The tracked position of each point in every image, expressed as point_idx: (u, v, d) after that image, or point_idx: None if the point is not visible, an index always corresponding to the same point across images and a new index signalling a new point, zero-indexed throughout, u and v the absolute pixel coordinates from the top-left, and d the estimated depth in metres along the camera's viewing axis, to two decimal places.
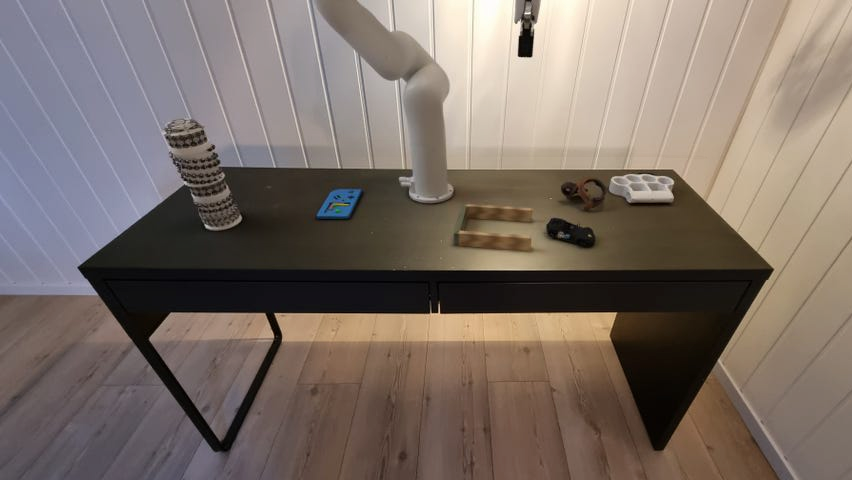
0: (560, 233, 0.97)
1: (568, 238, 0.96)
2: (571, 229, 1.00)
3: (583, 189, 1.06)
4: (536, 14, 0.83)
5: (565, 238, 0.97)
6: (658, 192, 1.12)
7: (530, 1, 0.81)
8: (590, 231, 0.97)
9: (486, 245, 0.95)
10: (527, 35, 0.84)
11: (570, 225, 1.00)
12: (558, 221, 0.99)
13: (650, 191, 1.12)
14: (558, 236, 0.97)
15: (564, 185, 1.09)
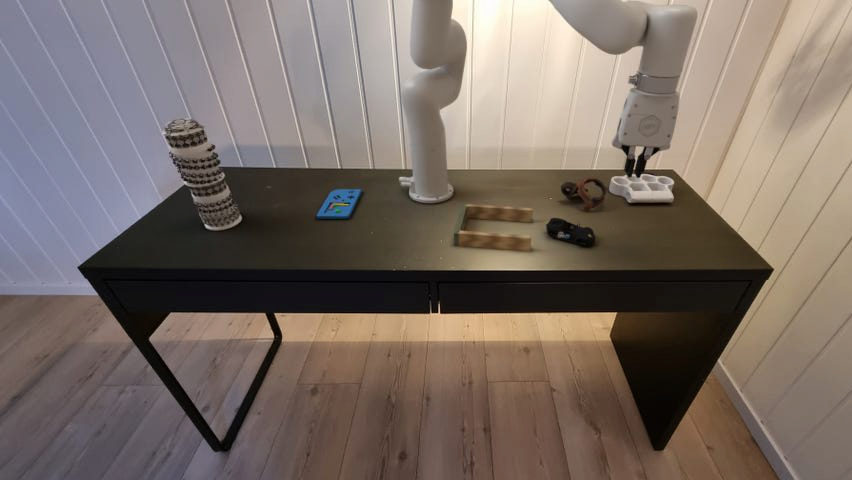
0: (560, 233, 0.97)
1: (568, 238, 0.96)
2: (571, 229, 1.00)
3: (583, 189, 1.07)
4: None
5: (565, 238, 0.97)
6: (658, 192, 1.12)
7: None
8: (590, 231, 0.97)
9: (486, 245, 0.95)
10: None
11: (570, 225, 1.00)
12: (558, 221, 0.99)
13: (650, 191, 1.12)
14: (558, 236, 0.97)
15: (564, 185, 1.09)
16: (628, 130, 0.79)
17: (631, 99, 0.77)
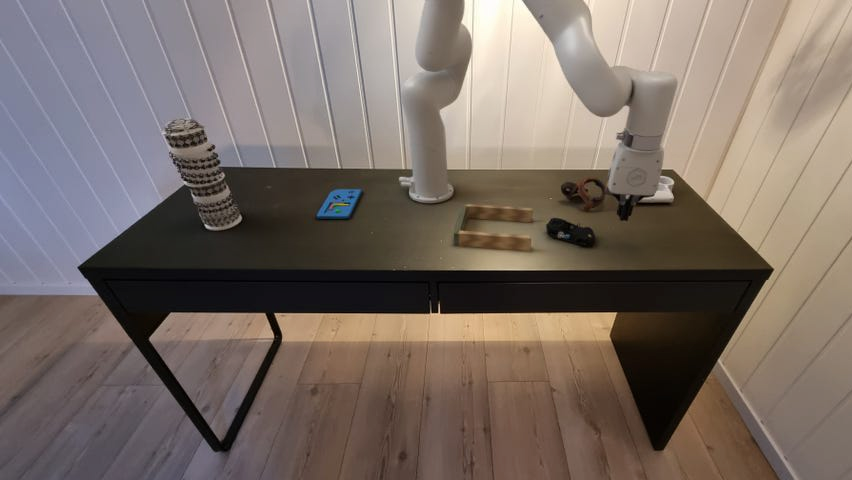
0: (560, 233, 0.97)
1: (568, 238, 0.96)
2: (571, 229, 1.00)
3: (583, 189, 1.06)
4: None
5: (565, 238, 0.97)
6: (658, 192, 1.12)
7: None
8: (590, 231, 0.97)
9: (486, 245, 0.95)
10: None
11: (570, 225, 1.00)
12: (558, 221, 0.99)
13: None
14: (558, 236, 0.97)
15: (564, 185, 1.09)
16: (617, 181, 0.86)
17: (619, 154, 0.83)
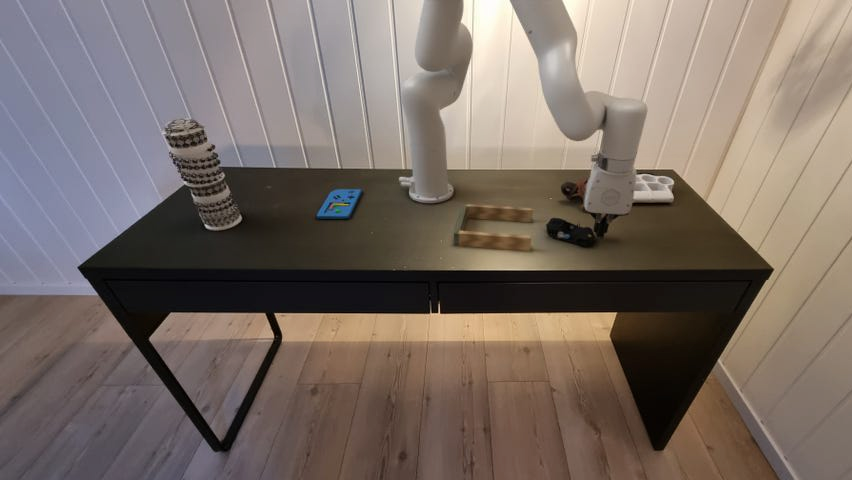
0: (560, 233, 0.97)
1: (568, 238, 0.96)
2: (571, 229, 1.00)
3: (583, 189, 1.06)
4: None
5: (565, 238, 0.97)
6: (658, 192, 1.12)
7: None
8: (590, 231, 0.97)
9: (486, 245, 0.95)
10: None
11: (570, 225, 1.00)
12: (558, 221, 0.99)
13: (650, 191, 1.12)
14: (558, 236, 0.97)
15: (564, 185, 1.09)
16: (592, 200, 0.89)
17: (593, 175, 0.87)
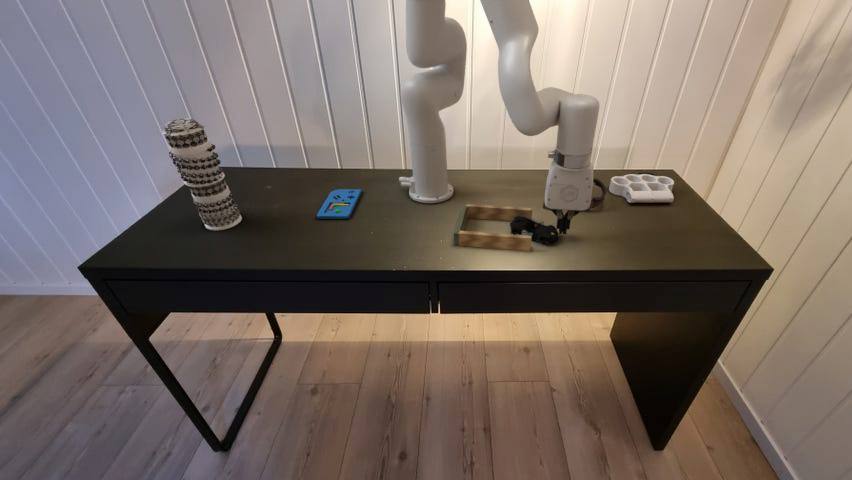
0: (523, 231, 0.97)
1: None
2: (535, 227, 1.00)
3: None
4: None
5: None
6: (658, 192, 1.12)
7: None
8: (553, 229, 0.98)
9: (486, 245, 0.95)
10: None
11: (534, 223, 1.00)
12: (522, 220, 1.00)
13: (650, 191, 1.12)
14: (522, 234, 0.97)
15: None
16: (551, 197, 0.90)
17: (551, 171, 0.87)
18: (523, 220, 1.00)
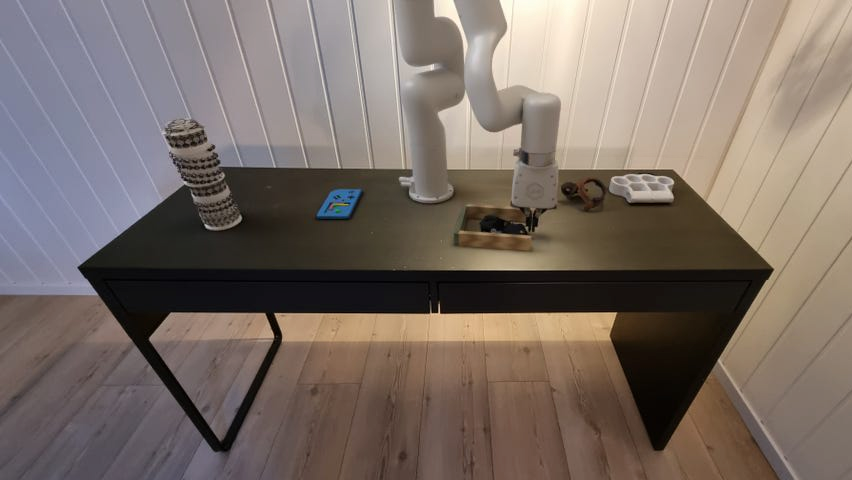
0: (492, 230, 0.97)
1: None
2: (505, 226, 1.00)
3: (583, 189, 1.06)
4: None
5: None
6: (658, 192, 1.12)
7: None
8: (522, 227, 0.98)
9: (486, 245, 0.95)
10: None
11: (503, 222, 1.00)
12: (491, 218, 1.00)
13: (650, 191, 1.12)
14: None
15: (564, 185, 1.09)
16: (517, 194, 0.90)
17: (516, 169, 0.88)
18: (492, 219, 1.00)
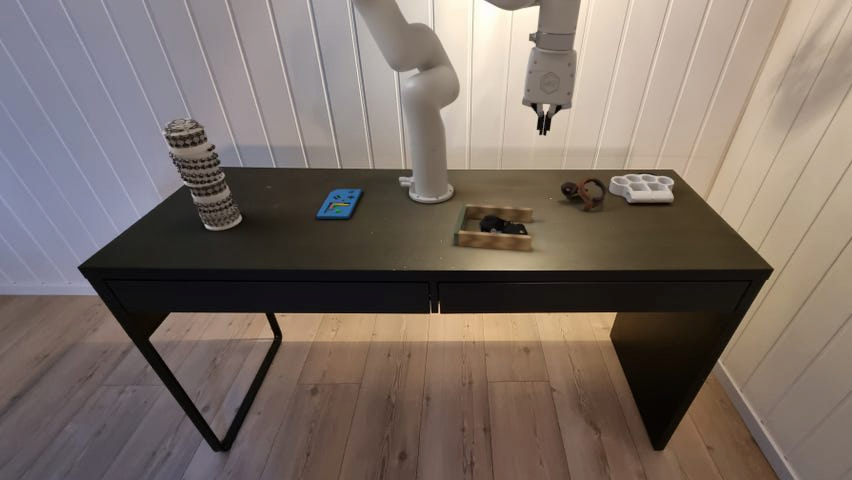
0: (492, 230, 0.97)
1: None
2: (505, 226, 1.00)
3: (583, 189, 1.06)
4: None
5: None
6: (658, 192, 1.12)
7: None
8: (522, 227, 0.98)
9: (486, 245, 0.95)
10: None
11: (503, 222, 1.00)
12: (491, 218, 1.00)
13: (650, 191, 1.12)
14: None
15: (564, 185, 1.09)
16: (531, 87, 0.84)
17: (531, 56, 0.81)
18: (492, 219, 1.00)
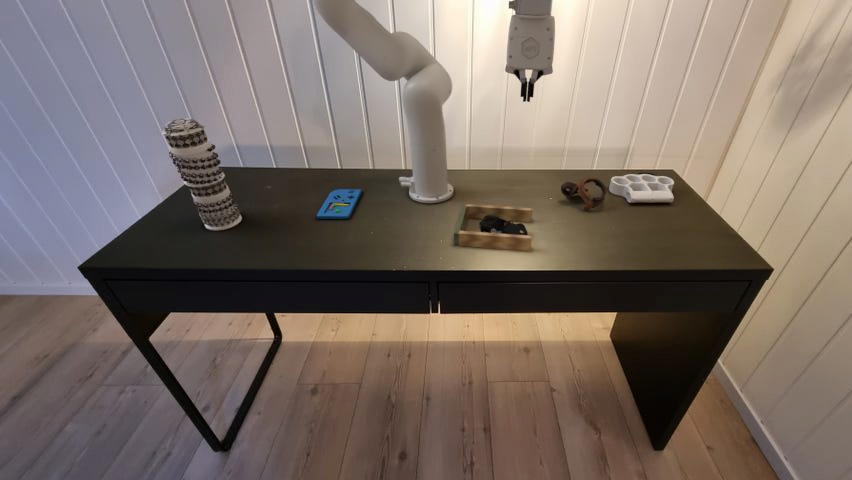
0: (492, 230, 0.97)
1: None
2: (505, 226, 1.00)
3: (583, 189, 1.06)
4: None
5: None
6: (658, 192, 1.12)
7: None
8: (522, 227, 0.98)
9: (486, 245, 0.95)
10: None
11: (503, 222, 1.00)
12: (491, 218, 1.00)
13: (650, 191, 1.12)
14: None
15: (564, 185, 1.09)
16: (512, 53, 0.88)
17: (511, 22, 0.85)
18: (492, 219, 1.00)
